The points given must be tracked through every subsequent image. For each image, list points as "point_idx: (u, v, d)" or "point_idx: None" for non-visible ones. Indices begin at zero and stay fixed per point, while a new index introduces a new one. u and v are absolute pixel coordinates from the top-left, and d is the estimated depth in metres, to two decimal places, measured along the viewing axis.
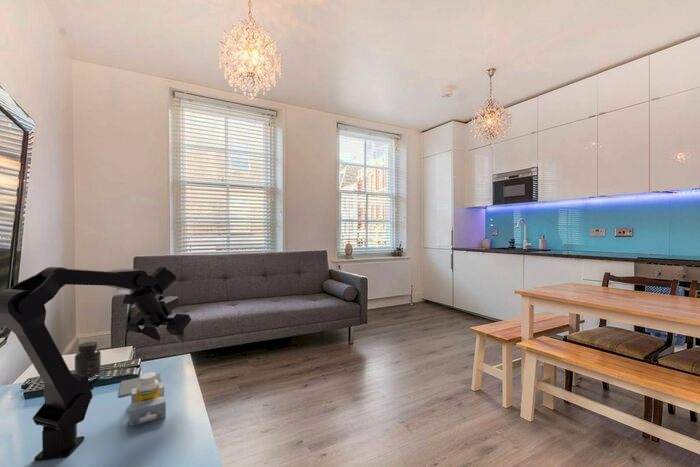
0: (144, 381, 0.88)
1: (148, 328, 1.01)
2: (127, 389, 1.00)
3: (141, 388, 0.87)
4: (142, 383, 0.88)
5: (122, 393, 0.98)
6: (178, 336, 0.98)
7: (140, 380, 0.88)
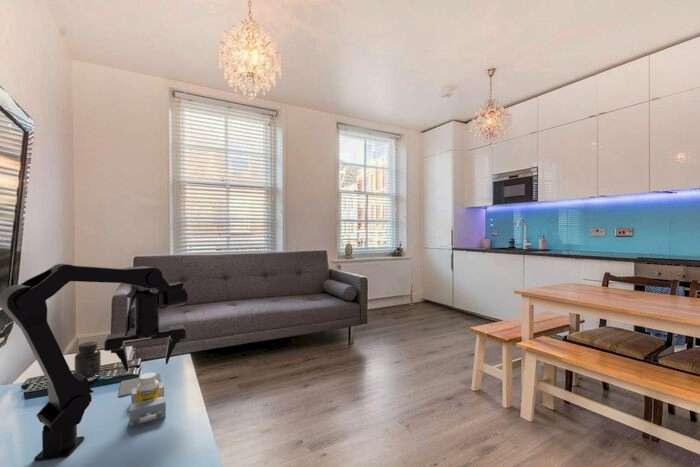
0: (144, 381, 0.88)
1: (125, 350, 0.87)
2: (127, 389, 1.00)
3: (141, 388, 0.87)
4: (142, 383, 0.88)
5: (122, 393, 0.98)
6: None
7: (140, 380, 0.88)
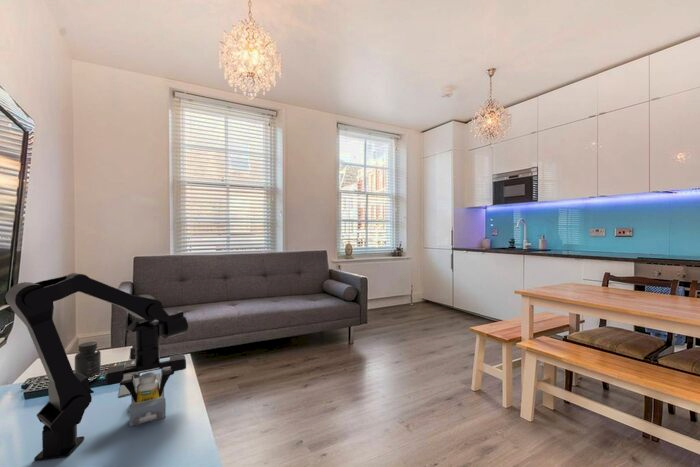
0: (144, 381, 0.88)
1: (133, 381, 0.88)
2: (127, 389, 1.00)
3: (141, 388, 0.87)
4: (142, 383, 0.88)
5: (122, 393, 0.98)
6: None
7: (140, 380, 0.88)
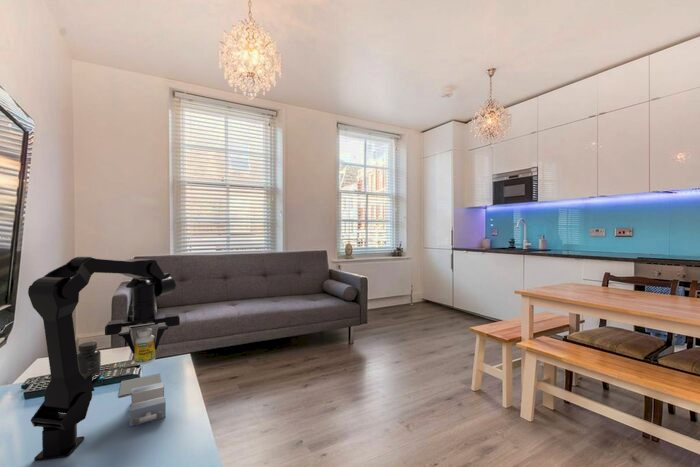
0: (141, 334, 0.96)
1: (131, 334, 0.95)
2: (127, 389, 1.00)
3: (138, 340, 0.95)
4: (139, 336, 0.96)
5: (122, 393, 0.98)
6: None
7: (137, 333, 0.96)
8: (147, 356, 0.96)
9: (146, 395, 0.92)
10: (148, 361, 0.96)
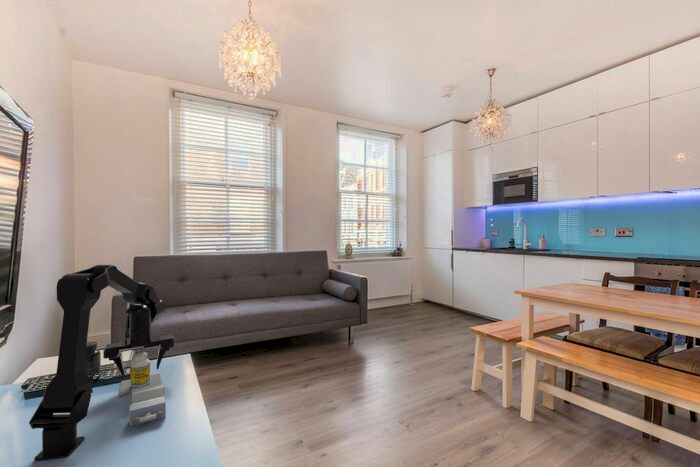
0: (137, 359, 1.02)
1: (121, 357, 1.01)
2: (127, 389, 1.00)
3: (134, 365, 1.01)
4: (135, 361, 1.02)
5: (122, 393, 0.98)
6: None
7: (133, 358, 1.02)
8: (142, 379, 1.02)
9: (146, 395, 0.92)
10: (143, 384, 1.02)
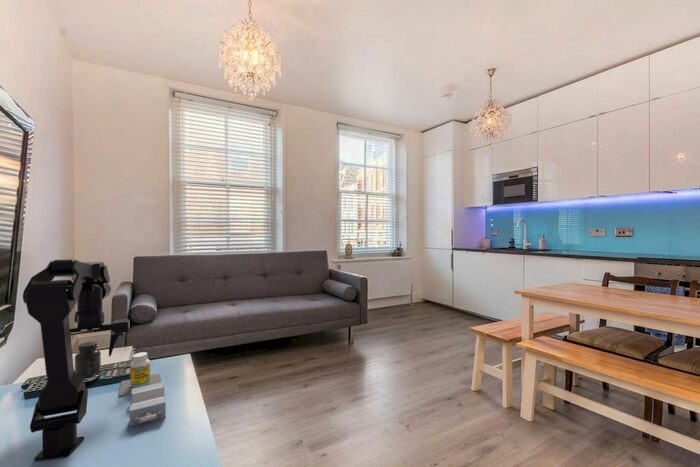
0: (137, 358, 1.02)
1: None
2: (127, 389, 1.00)
3: (134, 365, 1.01)
4: (135, 361, 1.02)
5: (122, 393, 0.98)
6: None
7: (133, 358, 1.02)
8: (142, 379, 1.02)
9: (146, 395, 0.92)
10: (143, 384, 1.02)
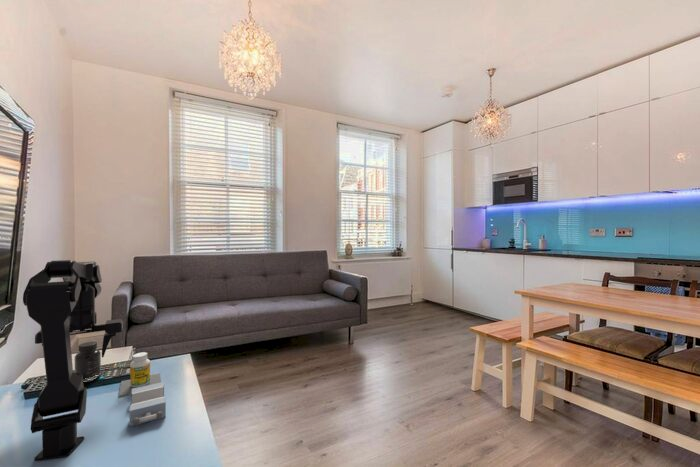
0: (137, 359, 1.02)
1: None
2: (127, 389, 1.00)
3: (134, 365, 1.01)
4: (135, 361, 1.02)
5: (122, 393, 0.98)
6: (108, 342, 0.94)
7: (133, 358, 1.02)
8: (142, 379, 1.02)
9: (146, 395, 0.92)
10: (143, 384, 1.02)
